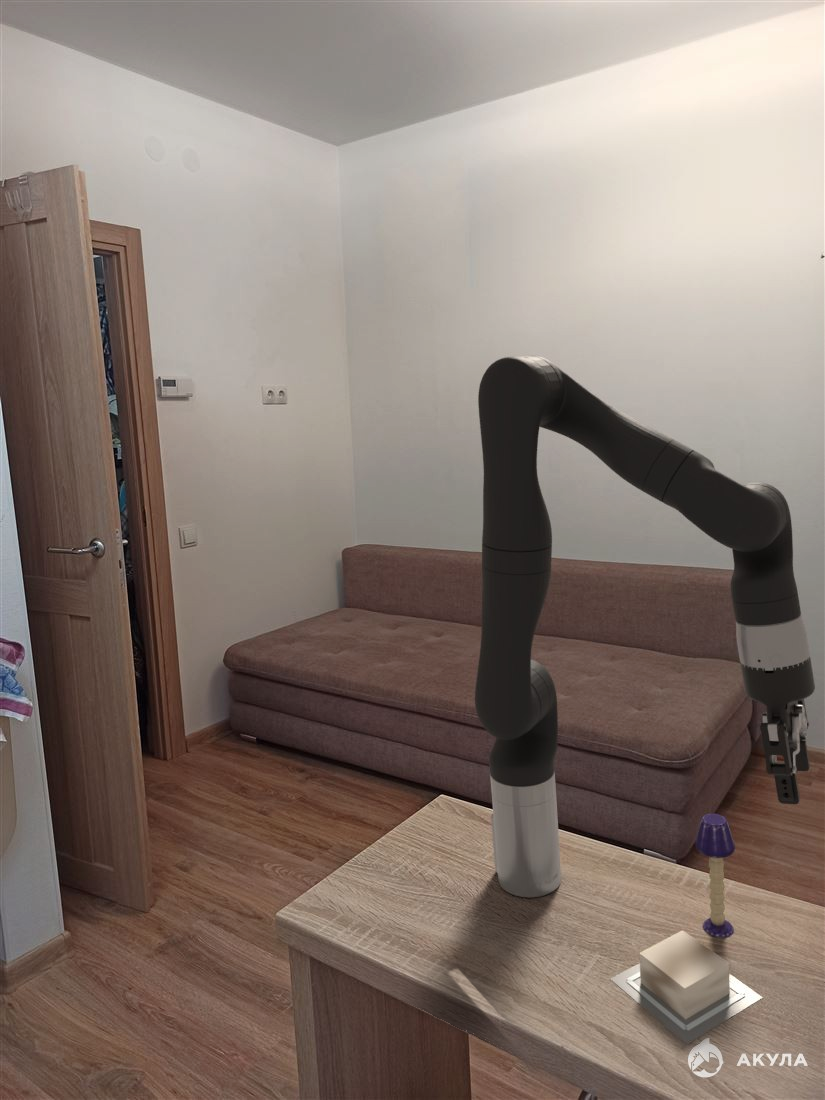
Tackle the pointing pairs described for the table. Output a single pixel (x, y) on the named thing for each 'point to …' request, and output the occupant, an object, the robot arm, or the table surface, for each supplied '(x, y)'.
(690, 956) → the cream block
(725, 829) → the toy lamp
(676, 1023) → the slate board
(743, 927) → the table surface
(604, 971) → the table surface
